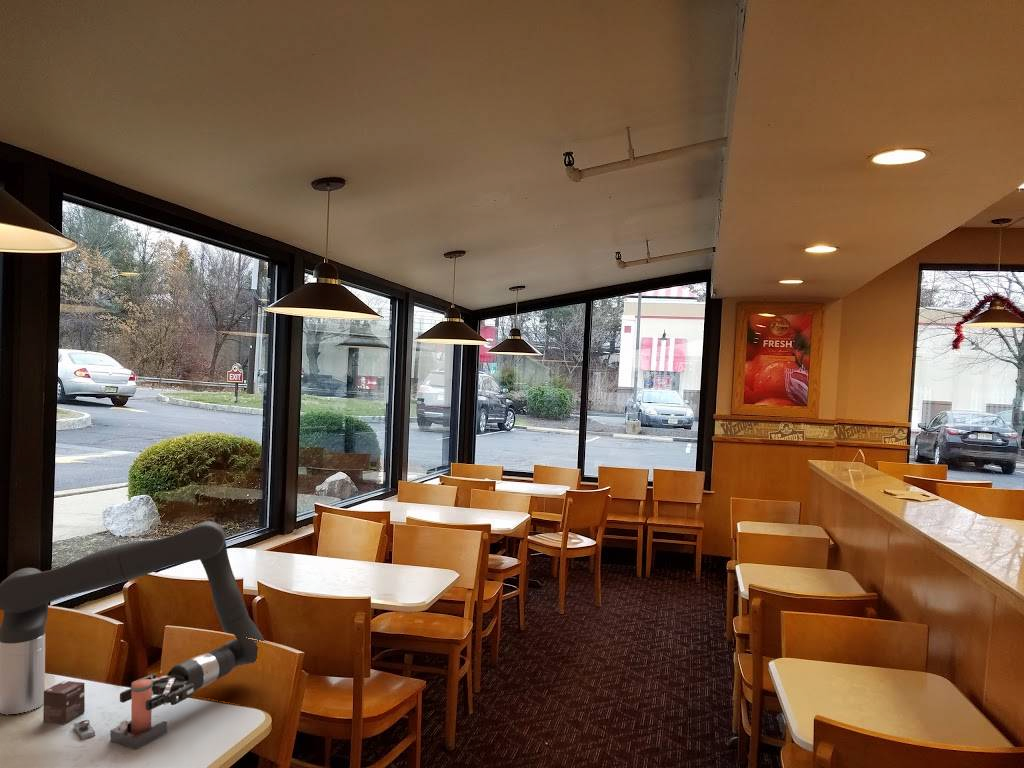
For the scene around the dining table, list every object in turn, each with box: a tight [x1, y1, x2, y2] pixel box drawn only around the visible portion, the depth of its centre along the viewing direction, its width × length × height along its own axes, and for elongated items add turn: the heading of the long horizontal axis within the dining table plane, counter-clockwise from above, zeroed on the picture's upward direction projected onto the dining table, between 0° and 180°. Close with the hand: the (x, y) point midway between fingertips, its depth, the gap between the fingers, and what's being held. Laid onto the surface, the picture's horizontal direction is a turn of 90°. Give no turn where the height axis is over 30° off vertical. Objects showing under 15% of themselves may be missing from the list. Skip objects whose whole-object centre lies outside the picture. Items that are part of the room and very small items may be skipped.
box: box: [42, 680, 86, 725], centre depth 163 cm, size 6×6×7 cm
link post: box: [130, 679, 153, 735], centre depth 155 cm, size 4×4×12 cm
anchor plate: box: [73, 719, 96, 740], centre depth 156 cm, size 7×2×2 cm, turn 46°
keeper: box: [109, 720, 168, 751], centre depth 154 cm, size 8×8×5 cm
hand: (133, 702), depth 153 cm, fingers open, 8 cm apart
